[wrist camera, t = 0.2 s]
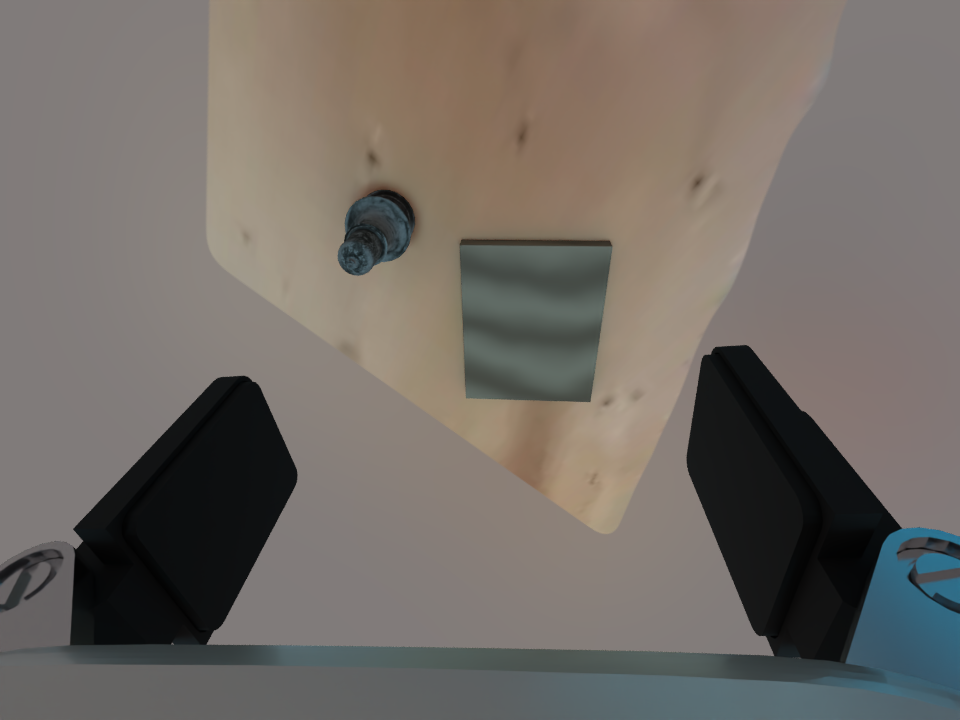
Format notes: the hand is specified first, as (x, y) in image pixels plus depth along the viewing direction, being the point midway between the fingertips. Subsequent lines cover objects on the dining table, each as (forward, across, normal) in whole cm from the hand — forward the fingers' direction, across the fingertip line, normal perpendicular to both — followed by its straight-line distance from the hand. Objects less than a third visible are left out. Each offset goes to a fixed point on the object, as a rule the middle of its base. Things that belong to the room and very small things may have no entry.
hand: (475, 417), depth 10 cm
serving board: (+36, -1, +17) cm, 40 cm away
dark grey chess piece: (+36, +12, +5) cm, 39 cm away
